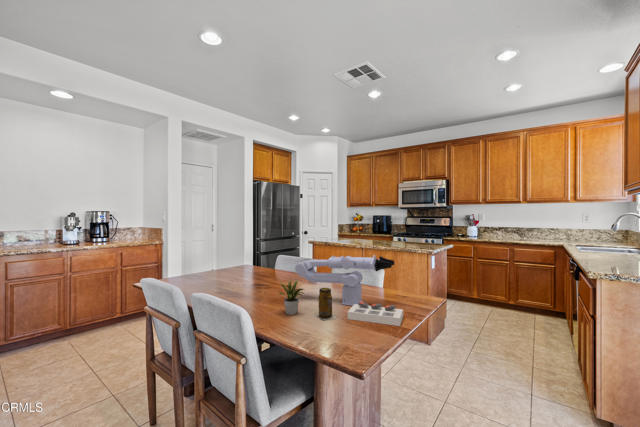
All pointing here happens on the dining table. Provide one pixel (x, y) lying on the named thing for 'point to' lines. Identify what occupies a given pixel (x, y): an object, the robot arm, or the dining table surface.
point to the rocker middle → (376, 306)
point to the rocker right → (390, 307)
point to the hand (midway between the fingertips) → (392, 264)
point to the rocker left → (363, 304)
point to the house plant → (291, 297)
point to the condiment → (325, 304)
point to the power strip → (376, 315)
